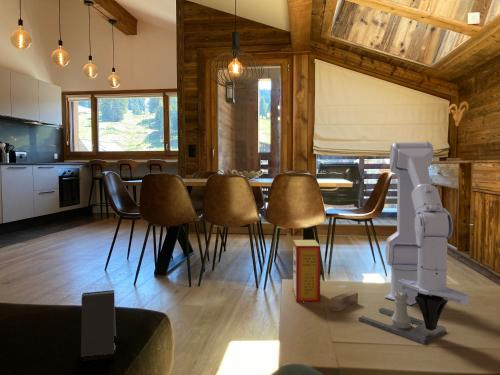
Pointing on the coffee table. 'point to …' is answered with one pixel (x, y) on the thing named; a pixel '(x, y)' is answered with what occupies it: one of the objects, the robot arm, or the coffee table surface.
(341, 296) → the stop block
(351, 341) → the coffee table surface
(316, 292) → the baking soda box
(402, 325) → the rook chess piece
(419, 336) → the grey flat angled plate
